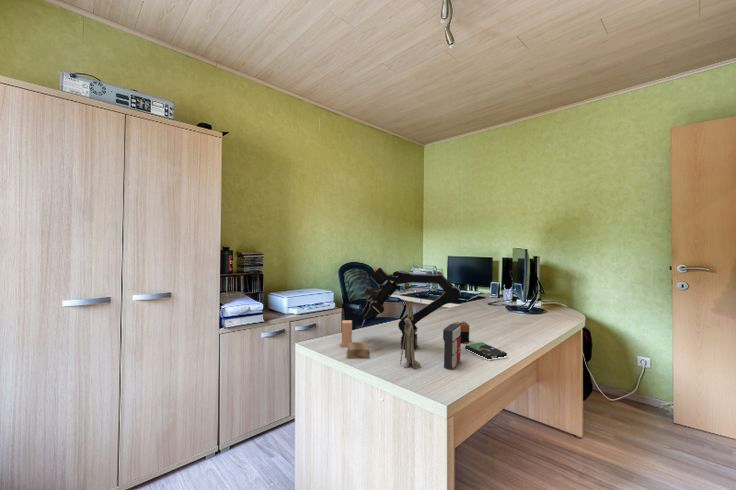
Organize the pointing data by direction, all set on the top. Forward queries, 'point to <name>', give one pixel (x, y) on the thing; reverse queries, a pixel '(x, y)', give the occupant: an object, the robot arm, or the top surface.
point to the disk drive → (485, 350)
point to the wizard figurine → (409, 340)
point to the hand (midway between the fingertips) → (362, 316)
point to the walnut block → (358, 350)
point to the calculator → (451, 345)
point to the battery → (464, 331)
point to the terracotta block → (346, 332)
